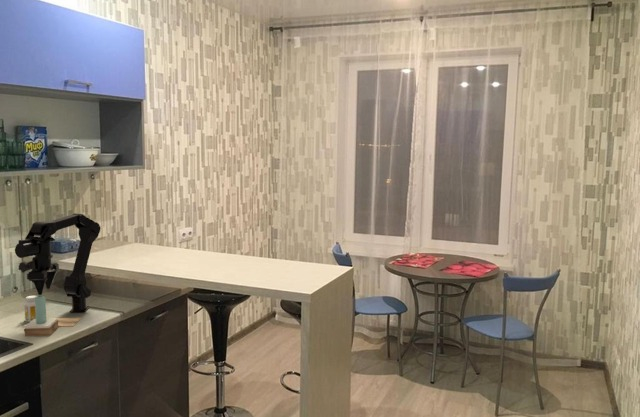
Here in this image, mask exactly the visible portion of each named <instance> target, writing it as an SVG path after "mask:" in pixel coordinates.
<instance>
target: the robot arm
mask: <svg viewBox="0 0 640 417" xmlns="http://www.w3.org/2000/svg"><path fill="white" fill-rule="evenodd" d="M72 226H75V228H76V229H78V236H79V239H80V241H79V246H78V249H77V252H76V256H75V260H74V265H73V268H72V272H71V273H70V274H69V275H66V276H65V278H64V283H63V284H62V286H63V290H64V293H65V295H66V297H70V298H71V309H69V313H85V312H87V310H89V308H90V306H87V298H90V297H91V294H92V291H91V290H90V289H89V288H88V287H87V278H86V274H85V273H86V270H87V266H88V263H89V258H90V254H91V250H92V246H93V243H94V242H95V241H96V239H98V237H99V235H100V233H101V226H100V224H99V222H96V221H95V220H94V219H93V220H92V219H91V218H89V217H87V216H86V215H85V214H83V213H72V214H69V215H67V216H63V217H60V218H56V219H53V220H47V221H45V220H43V221H42V220H41V221H35V222H33V223H32V224H31V227H30V229H29V231H28V233H27V234H26V236H25V238H24V239H19V240H18V243H17V244H16V245H15V248H14V252H15V256H16V257H17V258H18V259H19V258H20V259H23V258H28V257H32V259H31V260H28V261H25V260H24V261H22V262H19V265H18V270H19V271H20V272H21V274H22V273H25V272H28V271H29V272H28V273H27V274H26V279H27V280H28V281H29V282H32V283H33V284H34V286H35V289H36V291H37V292H36V293H37V294H38V295H37V296H43V292H44V289H45V287H46V290H50V289H51V286H52V284H53V282H54V279H55V278H56V276H57V273H58V270H59V268H60V265H59V264H58V262H52V258H53V257H54V256H53V254H52V251H51V250H52V248H51V242H55V241H56V239H55V238H54V237H53V235H56V233H57V231H60V230H62V229H66V228H69V227H72ZM30 270H31V271H30Z"/></svg>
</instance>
